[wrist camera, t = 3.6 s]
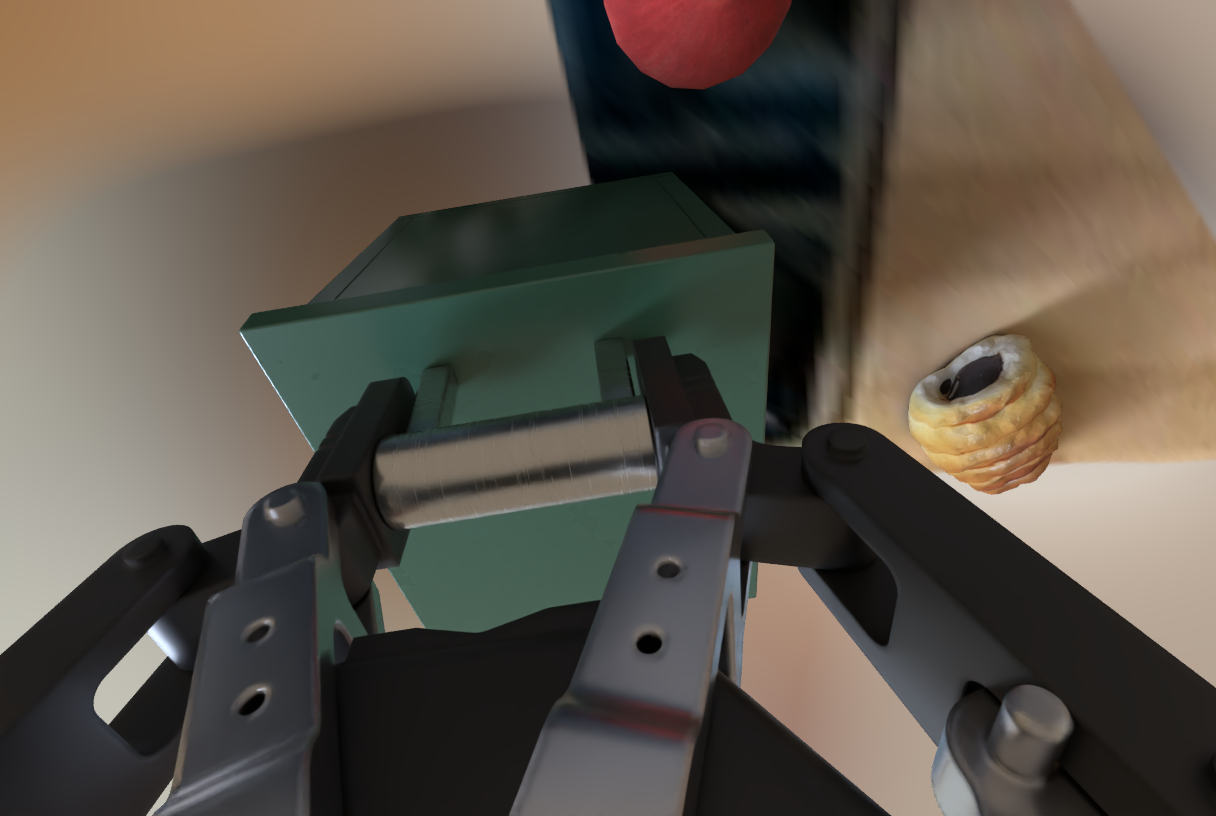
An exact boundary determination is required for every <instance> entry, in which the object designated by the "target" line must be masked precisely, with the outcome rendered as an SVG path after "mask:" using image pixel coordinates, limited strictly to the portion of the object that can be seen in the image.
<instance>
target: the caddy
mask: <svg viewBox="0 0 1216 816" xmlns="http://www.w3.org/2000/svg"><path fill="white" fill-rule="evenodd" d="M731 234H736V233H735V232H733V231H732V230H731V229H730V228H729V227H728V226H727V225H726V224H725V223H724V222H723V221H722V220H721V219H720V218H719V217H718V216H717V215H716V214H715V213H714V212H713V211H712V210H711V209H710V208H709V207H708V206H707V205H706V204H705V203H703V202H702V201H701V200H700V199H699V198H698V197H697V196H696V195H695V194H694V193H693V192H692V191H691V190H690V189H689V188H688V187H687V186H686V185H685V184H684V183H683V182H682V181H681V180H680V179H679V178H678V177H677V176H676V175H674V174H673V173H672V172H665V173H659V174H653V175H647V176H641V177H635V178H629V179H623V180H617V181H611V182H605V183H599V184H593V185H588V186H581V187H575V188H569V189H563V190H557V191H551V192H545V193H540V194H533V195H527V196H521V197H515V198H509V199H503V200H497V201H491V202H485V203H479V204H473V205H467V206H461V207H455V208H449V209H443V210H437V211H431V212H425V213H419V214H413V215H407V216H401V217H398V219H396V220H395V221H394V222H393V223H392V224H391V225H390V226H389V227H388V228H387V229H386V230H385V231H384V232H383V233H382V234H381V235H380V236H379V237H377V238H376V240H374V241H373V242H372V243H371V244H370V245H369V246H368V247H367V248H366V249H365V250H364V251H363V252H362V253H361V254H360V255H358V256H357V257H356V258H355V259H354V260H353V261H352V262H351V263H350V264H349V265H348V266H347V267H346V268H345V269H344V270H343V271H342V272H341V273H339V274H338V275H337V276H336V277H335V278H334V279H333V280H332V281H331V282H330V283H329V284H328V285H327V286H326V287H325V288H324V289H323V290H322V291H320V292H319V293H318V294H317V295H316V296H315V297H314V298H313V299H312V300H311V301H310V302H309V303H308V304H313V303H319V302H325V301H331V300H337V299H343V298H349V297H355V296H361V295H367V294H373V293H379V292H385V291H391V290H398V289H404V288H410V287H416V286H422V285H428V284H434V283H440V282H446V281H452V280H458V279H464V278H470V277H476V276H483V275H489V274H495V273H501V272H507V271H513V270H519V269H525V268H531V267H537V266H543V265H549V264H555V263H561V262H568V261H574V260H580V259H586V258H592V257H598V256H604V255H610V254H616V253H622V252H628V251H634V250H640V249H646V248H653V247H659V246H665V245H671V244H677V243H683V242H689V241H695V240H701V239H707V238H713V237H719V236H725V235H731Z"/></svg>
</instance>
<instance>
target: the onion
mask: <svg viewBox="0 0 1216 816" xmlns="http://www.w3.org/2000/svg"><path fill="white" fill-rule="evenodd" d="M791 1H792V0H604V6H605V9H606V12H607V15H608V18H609V21H610V24H611V27H612V30H613V33H614V36H615V38H616V41H617V44H618V45H619V46H620V47H621V49H622V50H623V51H624V52H625V53H626V54H627V56H628V57H629V58H630V59H631V60H632V62H633V63H634V64H635V65H636V66H637V68H638V69H639V70H640V71H641V72H642V73H644V74H646V75H648V76H650V77H652V78H654V79H656V80H657V81H659V82H661V83H663V84H665V85H667V86H669V87H671V88H688V89H706V88H709V87H711V86H714V85H716V84H719V83H721V82H724V81H726V80H729V79H731V78H734V77H736V76H739V75H741V74H743V73H744V72H745V71H746V70H747V69H748V68H749V67H750V66H751V65H752V64H753V63H754V62H755V61H756V60H757V59H758V58H759V57H760V56H761V55H762V54H763V53H764V52H765V51H766V49H767V48H768V47H769V46H770V45H771V43H772V41H773V39H774V38H775V36H776V34H777V32H778V30H779V28H780V26H781V24H782V22H783V20H784V18H785V16H786V14H787V12H788V10H789V8H790V5H791Z"/></svg>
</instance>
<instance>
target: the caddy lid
mask: <svg viewBox="0 0 1216 816" xmlns="http://www.w3.org/2000/svg"><path fill="white" fill-rule="evenodd" d="M774 248H775V244H774V241H773V240H772V239H771V238H770V236H769V235H768V234H767V233H766V231H765V230H756V231H750V232H744V233H738V234H731V235H725V236H719V237H713V238H707V239H701V240H695V241H689V242H683V243H677V244H671V245H665V246H659V247H653V248H646V249H640V250H634V251H628V252H622V253H616V254H610V255H604V256H598V257H592V258H586V259H580V260H574V261H568V262H561V263H555V264H549V265H543V266H537V267H531V268H525V269H519V270H513V271H507V272H501V273H495V274H489V275H483V276H476V277H470V278H464V279H458V280H452V281H446V282H440V283H434V284H428V285H422V286H416V287H410V288H404V289H398V290H391V291H385V292H379V293H373V294H367V295H361V296H355V297H349V298H343V299H337V300H331V301H325V302H319V303H313V304H306V305H301V306H294V307H288V308H282V309H276V310H270V311H264V312H258V313H253V314H251V315H250V317H249V318H248V319H247V321H246V322H245V323H244V324H243V326H242V327H241V328H240V330H239V333H240V334H241V336H242V338H243V339H244V341H245V343H246V344H247V346H248V347H249V349H250V351H251V352H252V354H253V355H254V357H255V358H256V360H257V362H258V363H259V365H260V366H261V368H262V370H263V371H264V373H265V374H266V376H267V378H268V379H269V381H270V382H271V384H272V386H273V387H274V389H275V390H276V392H277V393H278V395H279V397H280V398H281V400H282V401H283V403H284V405H285V406H286V408H287V409H288V411H289V413H290V414H291V416H292V417H293V419H294V420H295V422H296V424H297V425H298V427H299V428H300V430H301V432H302V433H303V435H304V436H305V438H306V440H307V441H308V443H309V444H310V446H311V448H312V449H313V451H314V452H316V451H317V450H319V449H318V447H319V445H320V444H321V442H322V440H323V439H324V438H326V436H325V435H326V434H327V432H328V430H329V429H330V427H331V425H332V424H333V422H334V421H335V420H336V419H337V418H338V417H339V416H341V415H342V414H343V413H344V412H345V411H346V410H348V409H349V408H350V407H352V406H357V404H358V402H359V401H360V399H361V397H362V395H363V394H364V392H365V390H366V388H367V386H368V385H369V383H370V382H374V381H380V380H387V379H393V378H399V377H406V378H407V379H408V380H409V382H410V383H411V385H412V388H413V390H414V393H415V399H414V402H413V406H412V410H411V413H410V417H409V420H408V424H407V428H406V431H405V433H400V434H394V435H388V436H385V437H383V438H382V439H381V440H380V441H379V442H378V444H377V446H376V448H375V451H374V456H373V463H372V480H373V489H374V494H375V499H376V502H377V506H378V509H379V511H380V513H381V515H382V517H383V519H384V521H385V522H386V523H387V525H388V526H389V527H391V528H392V529H395V530H404V529H410V528H411V530H410V533H409V536H408V539H407V543H406V546H405V549H404V552H403V556H402V559H401V562H400V565H399V566H397V567H391V568H387V569H388V570H389V572H390V573H391V575H392V576H393V578H394V580H395V581H396V583H397V584H398V586H399V588H400V589H401V591H402V592H403V594H404V595H405V597H406V599H407V600H408V602H409V603H410V605H411V607H412V608H413V610H414V611H415V613H416V615H417V616H418V618H419V619H420V621H421V623H422V624H423V626H424V627H425V629H436V630H448V631H460V632H472V633H478V632H484V631H487V630H490V629H492V628H495V627H498V626H500V625H503V624H506V623H508V622H511V621H514V620H516V619H519V618H522V617H524V616H527V615H530V614H532V613H535V612H538V611H540V610H543V609H546V608H549V607H556V606H562V605H569V604H575V603H582V602H588V601H595V600H601V599H602V596H603V593H604V590H605V588H606V585H607V582H608V579H609V577H610V574H611V571H612V568H613V566H614V563H615V560H616V558H617V555H618V552H619V549H620V547H621V544H622V541H623V538H624V536H625V533H626V530H627V527H628V525H629V522H630V519H631V516H632V514H633V511H634V509H635V507H636V506H637V504H639V503H645V504H650V503H651V501H652V498H653V495H654V492H655V489H656V486H657V483H658V480H659V477H660V475H659V467H658V459H657V452H656V446H655V439H654V433H653V428H652V422H651V417H650V412H649V407H648V403H647V400H646V397H645V396H644V395H639V388H638V381H637V373H636V366H635V358H634V350H633V340H640V339H646V338H652V337H658V336H665V337H666V340H667V343H668V345H669V348H670V351H671V354H672V356H676V355H682V354H688V353H692V354H694V355H695V356H697V357H698V358H700V359H701V360H703V361H704V362H706V364H707V366H708V368H709V370H710V373H711V375H712V377H713V379H714V381H715V383H716V387H717V388H718V390H719V392H720V394H721V396H722V398H723V401H724V403H725V405H726V407H727V409H728V411H729V414H730V416H731V418H732V420H733V421H735V422H737V423H739V424H741V425H743V426H744V427H745V428H746V429H747V430H748V431H749V432H750V434H751V437H752V440H754V441H756V442H759V443H763V444H764V439H765V420H766V401H767V382H768V363H769V344H770V325H771V306H772V287H773V268H774ZM757 573H758V562H752V568H751V577H750V585H749V594H748V599H749V598H755V597H756V592H757Z"/></svg>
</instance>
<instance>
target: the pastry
mask: <svg viewBox="0 0 1216 816" xmlns="http://www.w3.org/2000/svg"><path fill="white" fill-rule="evenodd" d="M1055 388H1056V377H1055V375H1054V373H1053V371H1052V370H1051V369H1050V368H1049V367H1048V366H1047V365H1046V364H1045V363H1044V362H1043V361H1041V360H1040V359H1039V358H1038V357H1037V355H1036V354H1035V352H1034V351H1033V349H1032V348H1031V341H1030V340H1029V339H1028V338H1026V337H1024V336H1022V335H1015V334H1009V335H1005V336H999V335H994V336H990V337H987V338H985V339H983V340H981V341H980V342H978V343H977V344H975V345H973V346H971V347H970V348H968V349H967V350H965V351H964V352H963V353H962V354H961V355H959V356H958V357H956V358H955V359H954V360H953V361H952V362H951V363H950V364H949V365H947V366H946V367H945V368H944V369H940V370H938V371H936V372H934V373H932V374H930V375H929V376H927V377H925V378H924V379H922V380H921V381H920V382H919V383H918V384H917V386H916V387H915V389H914V391H913V393H912V395H911V399H910V403H909V411H908V422H909V427H910V432H911V434H912V436H913V438H914V439H915V440H916V441H917V442H918V443H919V444H920V445H921V446H922V448H923V449H924V450H925V452H926V453H927V454H928V456H929V458H930V459H931V461H932V462H933V463H934V464H936V465H938V466H939V467H941V468H942V469H943V470H944V471H945V472H946V473H948V474H949V475H952V476H954V477H955V478H956V479H958V480H959V481H961V482H965V483H968V484H969V485H970V486H971V487H972V488H974V489H975V490H977V491H981V492H984V493H988V494H1000V493H1002V492H1005V491H1007V490H1010V489H1013V488H1016V487H1018V486H1019V485H1020V484H1026V483H1031V482H1034V481H1036V480H1037V479H1038V477H1039V476H1040V475H1041V474H1042V473H1043V472H1044V471H1045V469H1046V468H1047V466H1048V464H1049V461H1050V458H1051V455H1052V453H1053V452H1054V451H1055V450H1057V449H1058V438H1057V436H1058V435H1059V434H1060V433H1061V432H1062V424H1061V421H1060V419H1059V416H1060V413H1061V408H1062V407H1061V403H1060V401H1059V399H1058V397H1057V396H1056V394H1055V393H1054V391H1055Z"/></svg>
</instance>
